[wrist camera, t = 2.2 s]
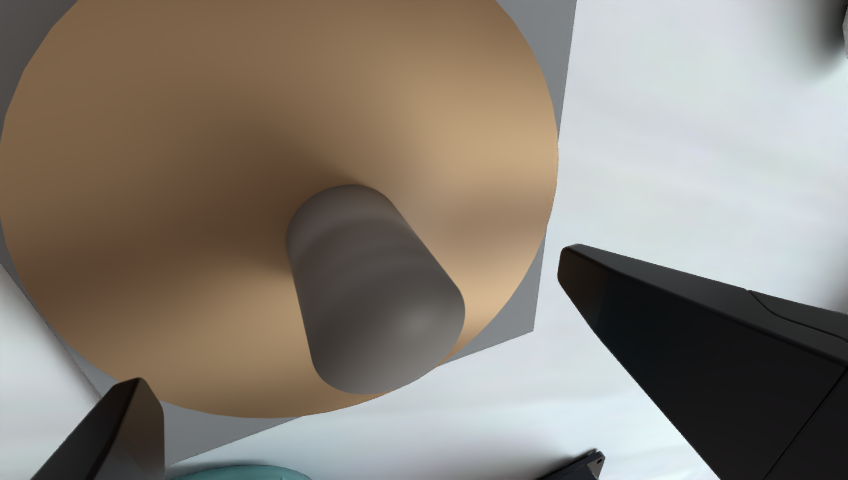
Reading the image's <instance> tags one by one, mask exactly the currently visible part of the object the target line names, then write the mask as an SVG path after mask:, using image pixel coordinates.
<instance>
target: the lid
mask: <svg viewBox="0 0 848 480" xmlns="http://www.w3.org/2000/svg"><path fill="white" fill-rule="evenodd" d="M557 173H558V135H557V127H556V121H555V115H554V109H553V104H552V101H551V97H550V94H549V91H548V88H547V84H546V81H545V78H544V75H543V73H542V71H541V69H540V67H539V64H538V62H537V60H536V58H535V56H534V54H533V51H532V49H531V47H530V46H529V44H528V43H527V41H526V40H525V38H524V37H523V35H522V33H521V32H520V30H519V29H518V27H517V26H516V24H515V23H514V21H513V20H512V19H511V17H510V16H509V15H508V14H507V13H506V12H505V11H504V9H503V8H502V7H501V6H500V5H499V4H498V3H497V2H496V0H78V1H77V2H76V3H75V4H74V5H73V6H72V7H71V8H70V9H69V10H68V11H67V12H66V13H65V14H64V15H63V16H62V17H61V19H60V20H59V21H58V22H57V23H56V24H55V25H54V26H53V27H52V28H51V30H50V31H49V33H48V34H47V36H46V37H45V39H44V40H43V42H42V43H41V45H40V46H39V48H38V49H37V51H36V52H35V54H34V55H33V57H32V58H31V60H30V61H29V63H28V64H27V66H26V67H25V69H24V71H23V73H22V76H21V78H20V81H19V83H18V86H17V88H16V91H15V93H14V96H13V98H12V100H11V103H10V105H9V108H8V110H7V113H6V116H5V121H4V126H3V132H2V137H1V142H0V218H1V223H2V228H3V232H4V237H5V242H6V246H7V249H8V251H9V253H10V256H11V258H12V261H13V263H14V266H15V268H16V270H17V273H18V275H19V278H20V280H21V282H22V284H23V286H24V287H25V289H26V290H27V292H28V294H29V295H30V297H31V298H32V300H33V301H34V303H35V305H36V306H37V308H38V309H39V311H40V312H41V314H42V315H43V317H44V318H45V319H46V320H47V321H48V322H49V323H50V324H51V326H52V327H53V328H54V329H55V330H56V331H57V332H58V333H59V335H60V336H61V337H62V338H63V339H64V340H65V341H66V342H67V343H68V344H69V345H70V346H71V347H72V348H74V349H75V350H76V351H77V352H78V353H80V354H81V355H82V356H83V357H84V358H86V359H87V360H88V361H89V362H90V363H92V364H93V365H94V366H95V367H97V368H99V369H100V370H102V371H103V372H105V373H107V374H108V375H110V376H111V377H113V378H115V379H116V380H118V381H119V382H123V381H126V380H129V379H133V378H136V377H141V378H143V379H145V380H146V382H147V383H148V385H149V386H150V388H151V390H152V391H153V393H154V394H155V396H156V397H157V399H158V400H161V401H164V402H167V403H170V404H173V405H176V406H179V407H182V408H186V409H191V410H195V411H200V412H204V413H209V414H214V415H222V416H231V417H240V418H286V417H300V416H306V415H313V414H319V413H325V412H330V411H334V410H338V409H342V408H346V407H350V406H354V405H357V404H360V403H363V402H366V401H369V400H372V399H375V398H377V397H380V396H382V395H384V394H387V393H389V392H391V391H394V390H396V389H399V388H401V387H403V386H405V385H407V384H410V383H412V382H413V381H415V380H417V379H419V378H420V377H422V376H424V375H425V374H427V373H428V372H430V371H431V370H433V369H434V368H436V367H437V366H439V365H441V364H442V363H444V362H445V361H446V360H448V359H449V358H450V357H452V356H453V355H454V354H456V353H457V352H458V351H460V350H461V349H462V348H463V347H464V346H465V345H467V344H468V343H469V342H470V341H471V340H472V339H473V338H475V337H476V336H477V335H478V334H479V333H480V332H481V331H482V330H483V329H484V328H485V327H486V326H487V325H488V324H489V323H490V321H491V320H492V319H493V318H494V317H495V316H496V315H497V314H498V313H499V311H500V310H501V309H502V308H503V306H504V305H505V304H506V303H507V301H508V300H509V299H510V298H511V296H512V295H513V293H514V292H515V290H516V289H517V287H518V286H519V284H520V283H521V281H522V280H523V278H524V276H525V274H526V272H527V271H528V269H529V267H530V265H531V263H532V261H533V260H534V258H535V256H536V253H537V251H538V248H539V246H540V244H541V241H542V239H543V237H544V234H545V231H546V228H547V224H548V221H549V218H550V214H551V211H552V206H553V201H554V196H555V191H556V185H557Z"/></svg>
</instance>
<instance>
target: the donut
mask: <svg viewBox="0 0 848 480" xmlns="http://www.w3.org/2000/svg"><path fill="white" fill-rule="evenodd" d="M842 28H843V35H844V42H845V49H846V56H847V58H848V8H847V11H846V15H845V18H844V22H843V25H842Z"/></svg>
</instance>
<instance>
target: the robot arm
mask: <svg viewBox="0 0 848 480" xmlns="http://www.w3.org/2000/svg"><path fill="white" fill-rule="evenodd" d="M557 277H558V281H559V283H560V285H561V287H562V288H563V289H564V291H565V292H566V294H567V295H568V297H569V298H570V299H571V301H572V302H573V304H574V305H575V307H576V308H577V309H578V311H579V312H580V314H581V315H582V316H583V318H584V319H585V321H586V322H587V324H588V325H589V326H590V328H591V329H592V330H593V332H594V333H595V334H596V336H597V337H598V338H599V339H600V340H601V342H602V343H603V344H604V345H605V346H606V347H607V349H608V350H609V351H610V352H611V353H612V354H613V356H614V357H615V358H616V359H617V360H618V361H619V362H620V364H621V365H622V366H623V367H624V368H625V369H626V371H627V372H628V373H629V374H630V375H631V376H632V378H633V379H634V380H635V381H636V382H637V383H638V385H639V386H640V387H641V388H642V389H643V390H644V392H645V393H646V394H647V395H648V396H649V397H650V399H651V400H652V401H653V402H654V403H655V404H656V405H657V407H658V408H659V409H660V410H661V411H662V412H663V414H664V415H665V416H666V417H667V418H668V419H669V421H670V422H671V423H672V424H673V425H674V426H675V428H676V429H677V430H678V431H679V432H680V433H681V435H682V436H683V437H684V438H685V439H686V440H687V442H688V443H689V444H690V445H691V446H692V447H693V448H694V450H695V451H696V452H697V453H698V454H699V455H700V457H701V458H702V459H703V460H704V461H705V462H706V464H707V465H708V466H709V467H710V468H711V469H712V471H713V472H714V473H715V474H716V475H717V476H718V478H719V479H720V480H848V314H844V313H839V312H835V311H831V310H826V309H822V308H818V307H814V306H809V305H805V304H801V303H797V302H793V301H789V300H786V299H782V298H778V297H774V296H770V295H766V294H763V293H759V292H756V291H752V290H748V291H747V290H746V289H744V288H741V287H737V286H733V285H730V284H726V283H722V282H719V281H715V280H711V279H708V278H704V277H700V276H697V275H693V274H689V273H686V272H682V271H678V270H675V269H671V268H667V267H664V266H660V265H656V264H653V263H649V262H645V261H642V260H638V259H634V258H631V257H627V256H623V255H620V254H616V253H612V252H609V251H605V250H601V249H598V248H594V247H590V246H587V245H583V244H574V245H570V246H567V247H565V248H563V249H562V251H561V254H560V260H559V267H558V273H557ZM604 460H605V456H604V455H603V454H602V452H601V451H599V452H596V453H594V454H592V455H590V456H588V457H586V458H584V459H582V460H580V461H578V462H576V463H574V464H572V465H570V466H568V467H566V468H564V469H562V470H560V471H558V472H556V473H554V474H552V475H550V476H548V477H546V478H544V479H542V480H599V479H598V478H599V475H600V472H601V469H602V466H603V463H604ZM31 480H165V434H164V412H163V408H162V406H161V404H160V402H159V400H158V399H157V397H156V396H155V394H154V393H153V391H152V390H151V388H150V386H149V385H148V383H147V382H146V380H145V379H143V378H141V377H136V378H133V379H129V380H126V381H123V382H120V383H117V384H115V385H113V386H112V387H111V388H110V389H109V390H108V391H107V393H106V394H105V395H104V396H103V397H102V398H101V399H100V401H99V402H98V403H97V404H96V405H95V406H94V407H93V409H92V410H91V411H90V412H89V413H88V414H87V415H86V417H85V418H84V419H83V420H82V421H81V422H80V423H79V425H78V426H77V427H76V428H75V429H74V430H73V431H72V433H71V434H70V435H69V436H68V437H67V438H66V439H65V441H64V442H63V443H62V444H61V445H60V446H59V448H58V449H57V450H56V451H55V452H54V453H53V454H52V456H51V457H50V458H49V459H48V460H47V461H46V462H45V464H44V465H43V466H42V467H41V468H40V469H39V470H38V472H37V473H36V474H35V475H34V476H33V477H32V478H31Z"/></svg>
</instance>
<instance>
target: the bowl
mask: <svg viewBox="0 0 848 480" xmlns="http://www.w3.org/2000/svg"><path fill="white" fill-rule="evenodd" d="M173 480H311V479H310V478H308V477H307V476H305V475H303V474H301V473H299V472H297V471H293V470H290V469H286V468H281V467H275V466H265V465H242V466H231V467H223V468H216V469H211V470H206V471H201V472H197V473H193V474H189V475H186V476H182V477H178V478H176V479H173Z"/></svg>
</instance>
